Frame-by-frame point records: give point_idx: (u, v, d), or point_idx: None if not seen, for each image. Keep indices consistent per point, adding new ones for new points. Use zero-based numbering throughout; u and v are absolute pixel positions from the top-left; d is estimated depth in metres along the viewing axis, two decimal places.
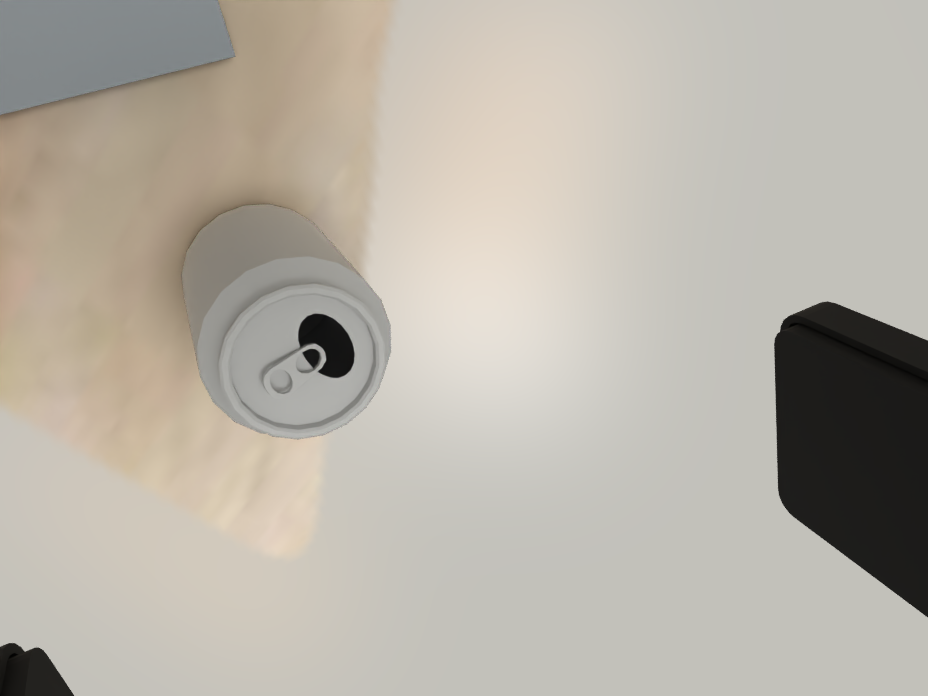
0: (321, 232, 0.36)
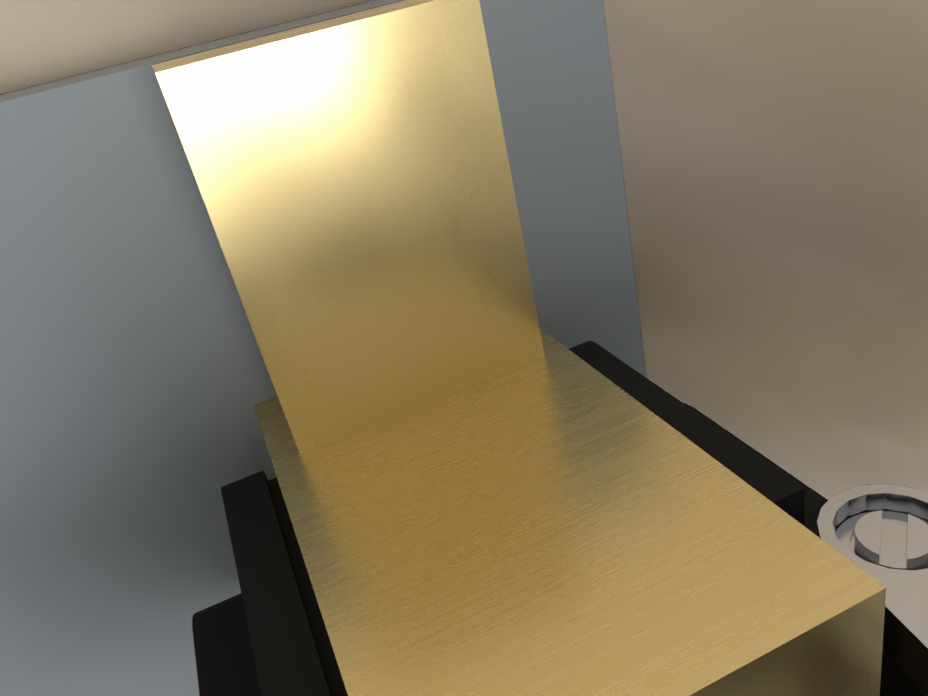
0: None
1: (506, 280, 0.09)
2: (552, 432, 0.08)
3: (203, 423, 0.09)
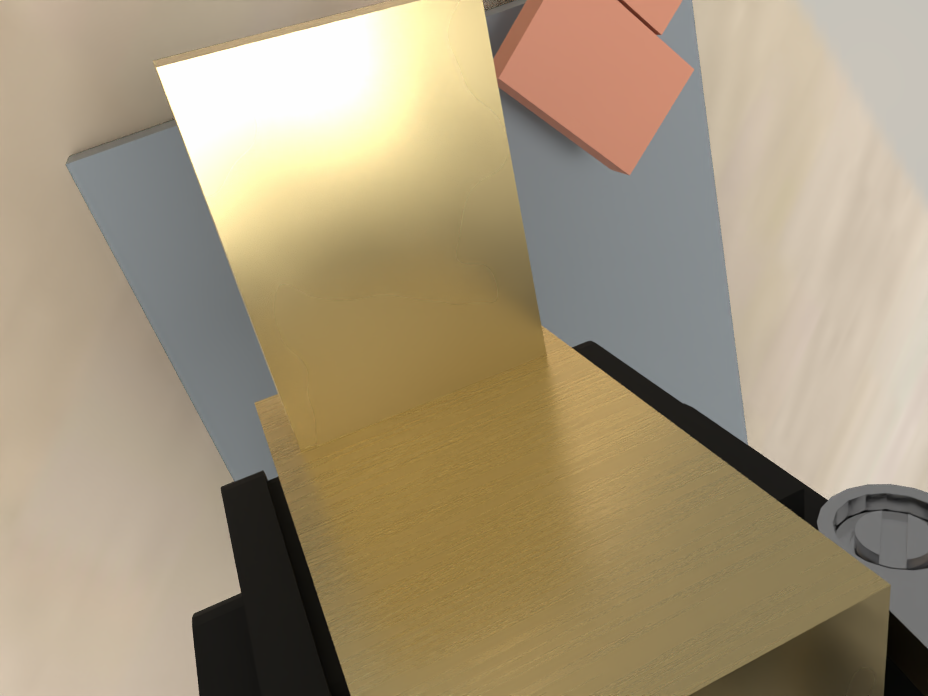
0: None
1: (508, 277, 0.08)
2: (554, 430, 0.08)
3: None
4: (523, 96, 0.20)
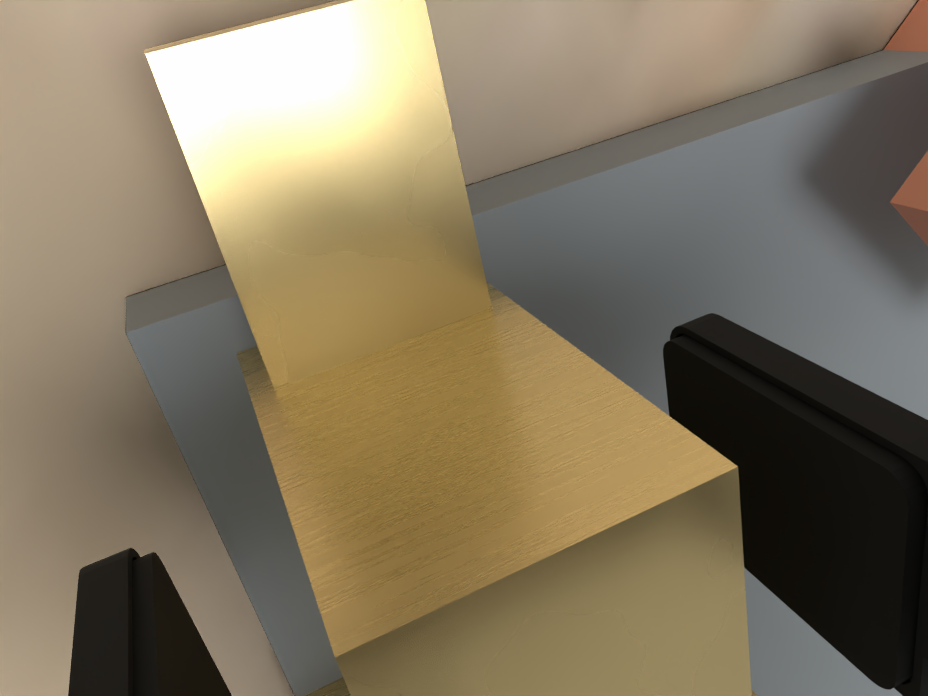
0: None
1: (454, 238, 0.10)
2: (489, 366, 0.09)
3: None
4: None
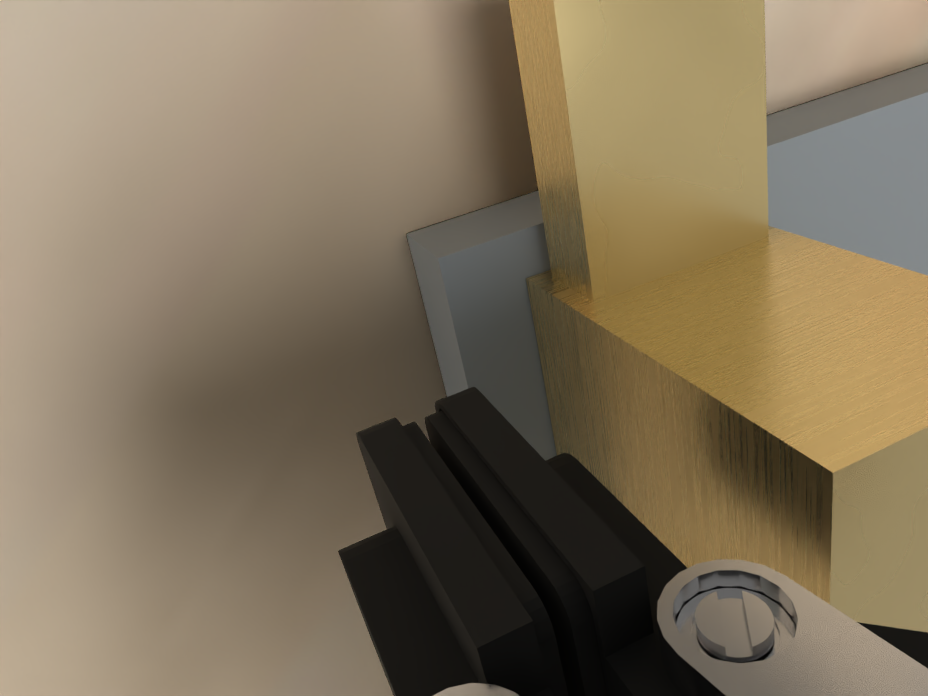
0: None
1: (751, 169, 0.11)
2: (806, 277, 0.10)
3: None
4: None
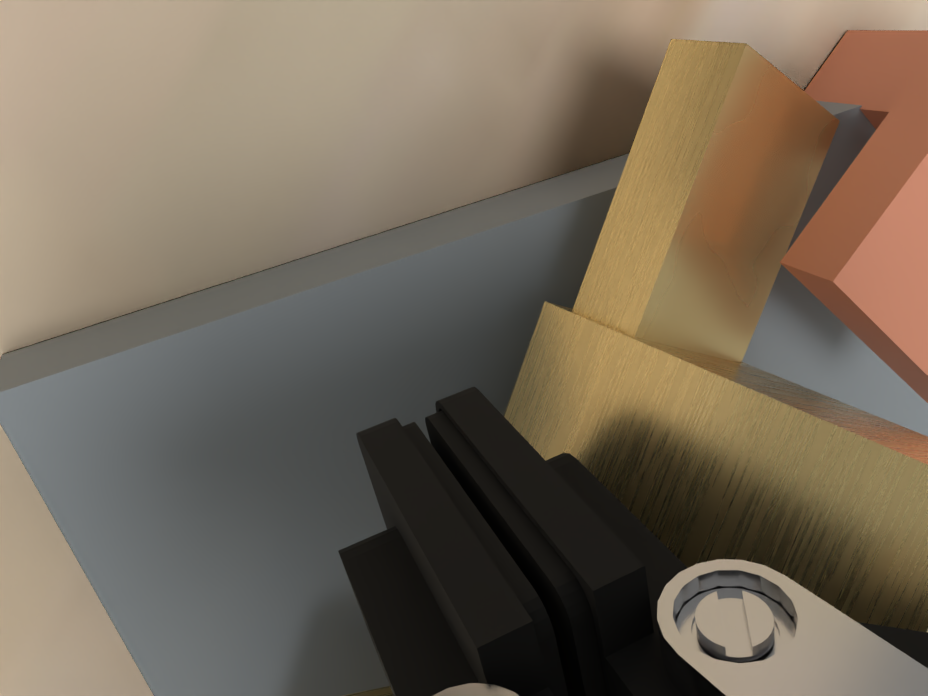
0: None
1: (759, 296, 0.12)
2: (804, 391, 0.11)
3: None
4: (861, 310, 0.11)
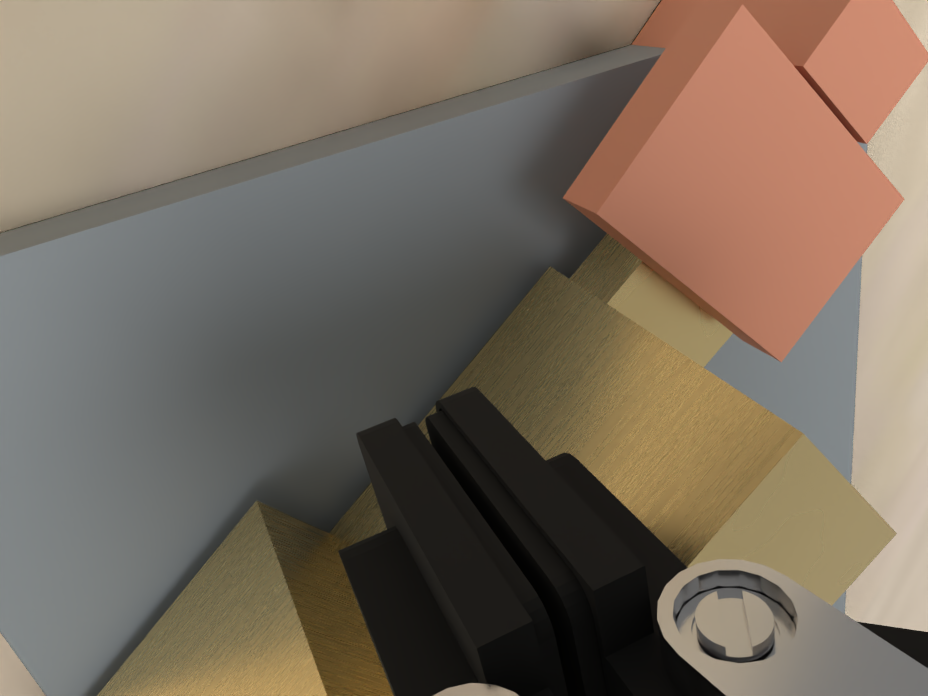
0: None
1: (719, 334, 0.15)
2: None
3: None
4: (633, 243, 0.11)
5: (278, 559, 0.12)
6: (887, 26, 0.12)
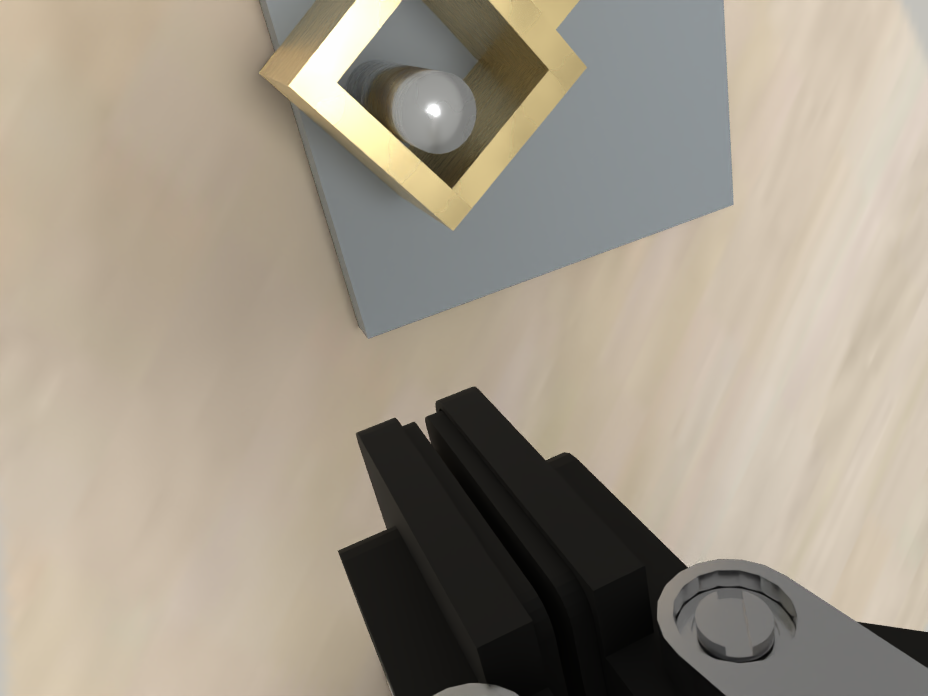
0: None
1: None
2: None
3: (652, 99, 0.34)
4: None
5: None
6: None
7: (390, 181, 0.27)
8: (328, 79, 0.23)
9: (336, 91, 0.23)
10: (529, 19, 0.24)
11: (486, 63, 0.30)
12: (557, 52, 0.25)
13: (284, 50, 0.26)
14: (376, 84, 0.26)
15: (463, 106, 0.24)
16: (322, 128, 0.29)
